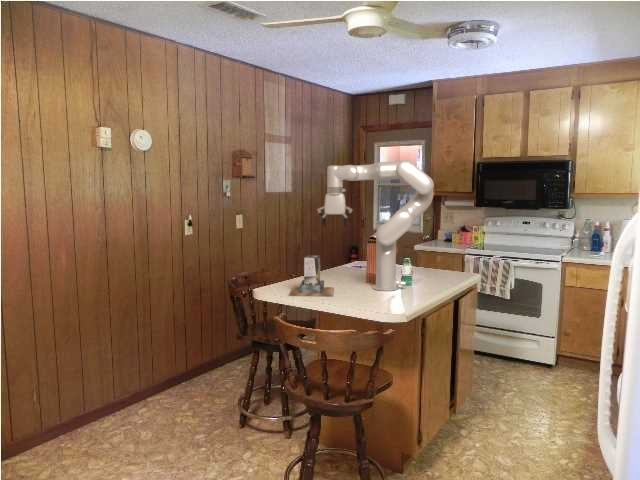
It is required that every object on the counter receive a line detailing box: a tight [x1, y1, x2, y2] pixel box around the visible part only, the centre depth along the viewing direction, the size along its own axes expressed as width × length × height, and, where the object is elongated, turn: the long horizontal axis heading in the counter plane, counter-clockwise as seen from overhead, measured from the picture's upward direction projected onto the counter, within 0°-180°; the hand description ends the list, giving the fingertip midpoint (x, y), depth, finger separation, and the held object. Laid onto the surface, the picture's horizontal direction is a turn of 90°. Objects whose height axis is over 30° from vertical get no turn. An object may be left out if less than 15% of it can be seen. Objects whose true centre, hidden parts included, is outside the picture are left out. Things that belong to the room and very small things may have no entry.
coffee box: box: [303, 254, 321, 285], centre depth 231 cm, size 9×6×16 cm
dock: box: [288, 279, 335, 298], centre depth 231 cm, size 20×15×5 cm
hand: (334, 226), depth 242 cm, fingers open, 9 cm apart
